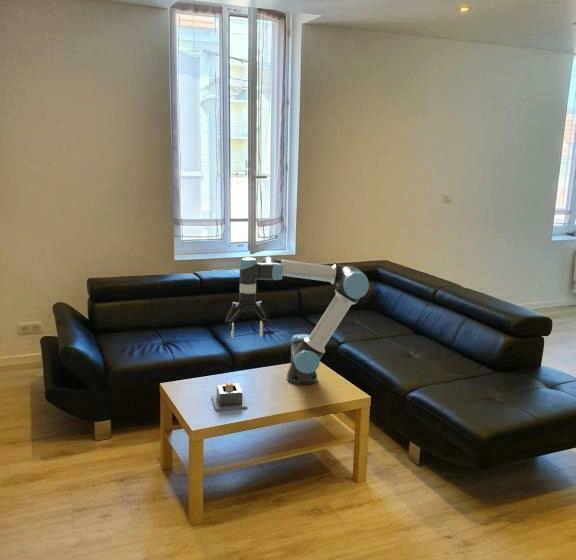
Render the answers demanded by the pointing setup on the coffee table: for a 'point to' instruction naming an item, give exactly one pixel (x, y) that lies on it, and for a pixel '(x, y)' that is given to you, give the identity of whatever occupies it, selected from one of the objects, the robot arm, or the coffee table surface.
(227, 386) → the keeper
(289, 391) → the coffee table surface
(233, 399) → the hollow square block
